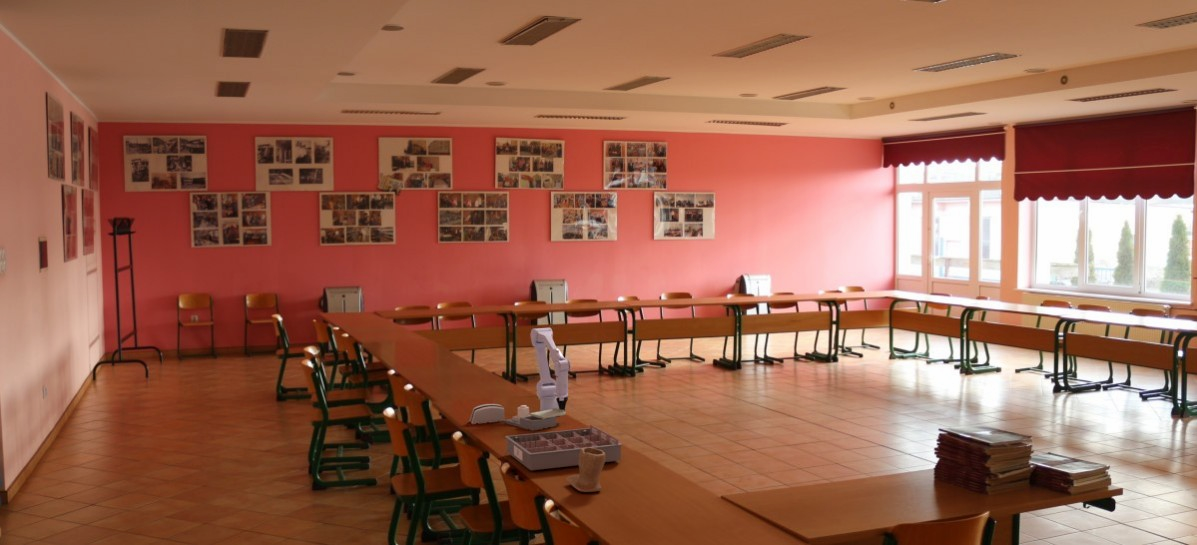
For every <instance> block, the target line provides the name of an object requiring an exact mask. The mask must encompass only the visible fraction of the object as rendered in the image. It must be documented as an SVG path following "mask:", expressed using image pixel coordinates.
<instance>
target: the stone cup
mask: <svg viewBox="0 0 1197 545" xmlns="http://www.w3.org/2000/svg"><path fill="white" fill-rule="evenodd" d="M605 464H606V462H605V453H604V452H603V451H602V450H599V449H596V448H591V447H584V448H582V449H581V450H580V453H579V465H578V470H579V474H573V475H570V476H568V477H567V478H566V481H567V482H568V483H569V484H570V485H571V486H572V487H573V488H575V489H576V490H577V491H579V492H582V493H583V492H584V493H592V492H593V493H594V492H600V491H601V490H602V486H601V484H600V481H599V478H600V475H601V473H602V470H603V469H604V466H605Z"/></svg>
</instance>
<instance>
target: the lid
mask: <svg viewBox="0 0 1197 545" xmlns="http://www.w3.org/2000/svg"><path fill="white" fill-rule="evenodd" d="M529 415H530V416H534V417H538V418H542V419H545V418H550V417H560V415H561V416H565V415H567V412H566V409H565V410H561V409H557V408H552V409H551V410H545V411H540V410H539V411H535V412H529Z"/></svg>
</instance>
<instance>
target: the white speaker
mask: <svg viewBox="0 0 1197 545" xmlns="http://www.w3.org/2000/svg"><path fill="white" fill-rule="evenodd" d="M505 420H506V419H505V408H504V406H502V405H501V404H497V403H487V404H486V403H485V404H480V405H478V406H475V407H473V409H472V412H471V415H470V418H469V423H470V424H472V425H475V424H476V423H478V424H486V423H487V422H489V423H497V422H498V421H499V422H505ZM476 425H477V424H476Z"/></svg>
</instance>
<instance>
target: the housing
mask: <svg viewBox="0 0 1197 545" xmlns="http://www.w3.org/2000/svg"><path fill="white" fill-rule="evenodd" d="M504 424H507V425H510V426H513V427H514V426H515V427H517V426H518V428H522V429H525V430H528V429H529V430H528V431H532V432H533V431H534V430H535V431H538V430H539V429H540V430H544V429H543V428H545V429H549V428H548V427H550V428H554V426H555V427H557V416H555V417H550V418H544V419H542V418H538V417H534V416H530V414H529V416H527V417H522V418H518V415H515V416H512V417H511V418H508V419H505V421H504ZM535 431H534V432H535Z"/></svg>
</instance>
